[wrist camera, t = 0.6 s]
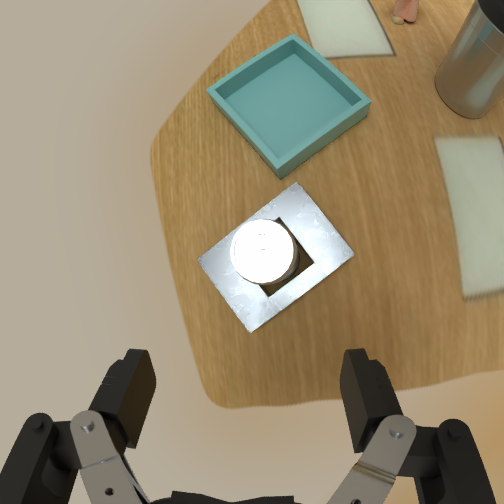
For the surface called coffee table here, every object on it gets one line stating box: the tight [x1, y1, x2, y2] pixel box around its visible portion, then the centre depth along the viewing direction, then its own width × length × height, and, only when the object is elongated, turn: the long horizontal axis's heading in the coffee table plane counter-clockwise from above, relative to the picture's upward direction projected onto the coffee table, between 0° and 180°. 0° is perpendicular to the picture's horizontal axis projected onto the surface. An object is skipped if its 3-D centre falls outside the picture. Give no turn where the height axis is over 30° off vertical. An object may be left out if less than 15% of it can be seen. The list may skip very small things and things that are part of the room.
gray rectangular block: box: [197, 182, 354, 333], centre depth 35 cm, size 14×10×2 cm
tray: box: [206, 33, 371, 180], centre depth 36 cm, size 14×14×4 cm
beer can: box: [230, 219, 300, 285], centre depth 31 cm, size 5×5×12 cm
